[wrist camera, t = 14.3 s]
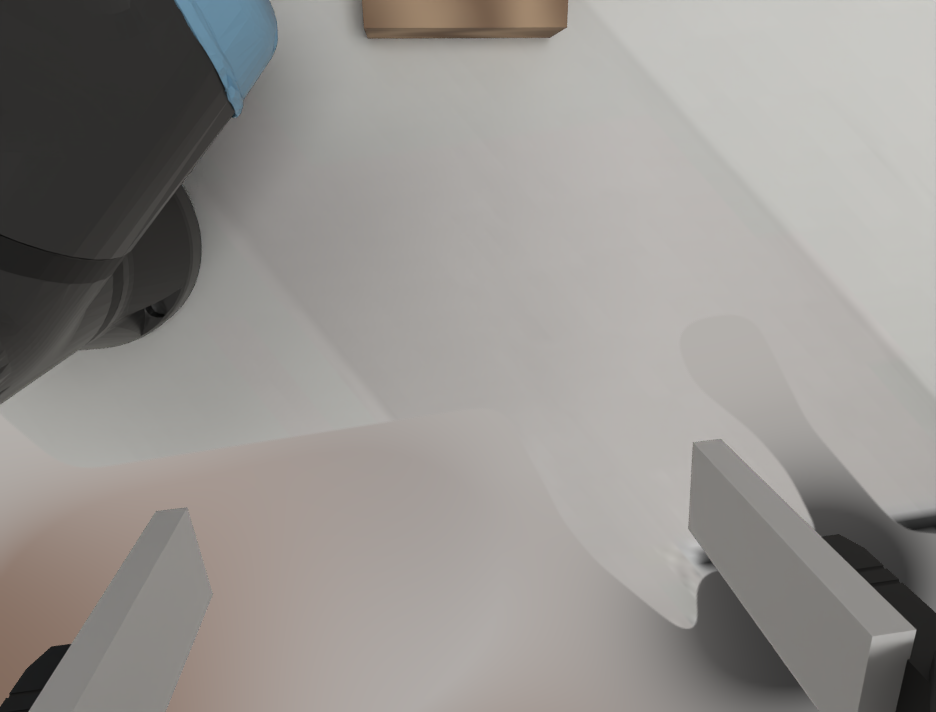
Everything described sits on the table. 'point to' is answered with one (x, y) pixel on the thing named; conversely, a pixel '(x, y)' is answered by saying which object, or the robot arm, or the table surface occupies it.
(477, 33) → the step riser
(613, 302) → the table surface
